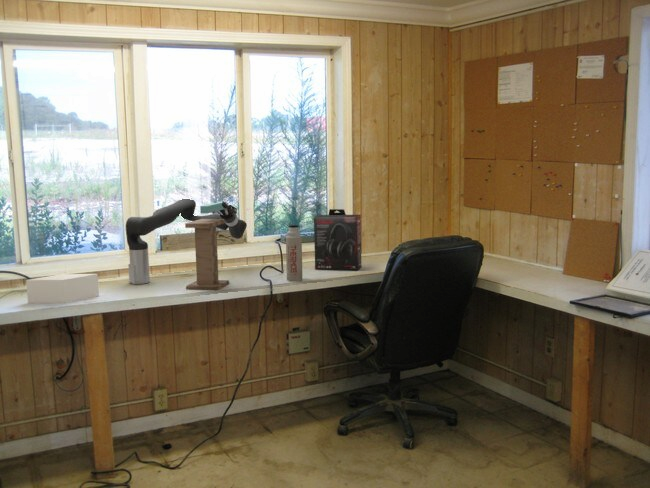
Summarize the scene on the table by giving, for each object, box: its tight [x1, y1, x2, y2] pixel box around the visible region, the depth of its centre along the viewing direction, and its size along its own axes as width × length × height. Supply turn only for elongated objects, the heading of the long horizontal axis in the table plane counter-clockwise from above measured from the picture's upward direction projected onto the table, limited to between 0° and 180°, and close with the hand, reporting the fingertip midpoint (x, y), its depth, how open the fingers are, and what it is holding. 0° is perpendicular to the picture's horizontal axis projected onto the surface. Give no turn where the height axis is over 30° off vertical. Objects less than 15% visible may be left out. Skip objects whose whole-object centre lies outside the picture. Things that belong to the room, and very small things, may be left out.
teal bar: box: [199, 201, 227, 215], centre depth 325 cm, size 26×4×4 cm, turn 169°
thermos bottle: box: [285, 224, 303, 282], centre depth 331 cm, size 8×8×28 cm
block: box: [25, 273, 100, 304], centre depth 296 cm, size 15×30×11 cm, turn 114°
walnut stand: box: [184, 219, 230, 291], centre depth 319 cm, size 20×16×32 cm
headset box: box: [313, 208, 362, 271], centre depth 361 cm, size 24×13×33 cm, turn 77°
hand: (219, 203), depth 332 cm, fingers closed on teal bar, 3 cm apart
